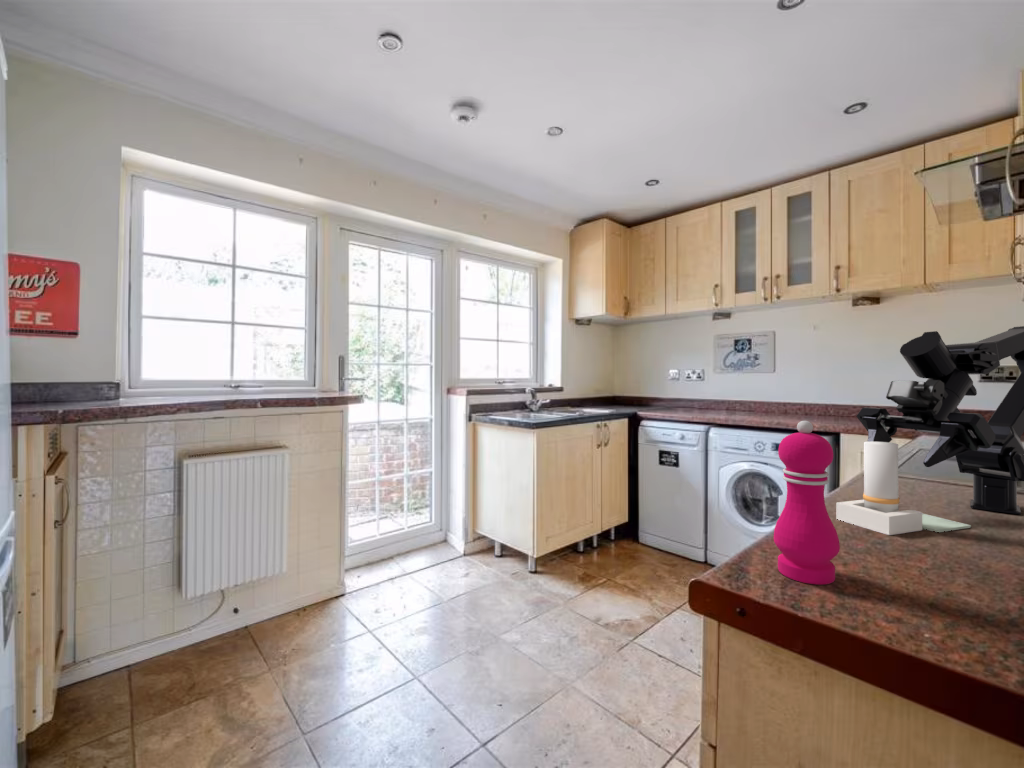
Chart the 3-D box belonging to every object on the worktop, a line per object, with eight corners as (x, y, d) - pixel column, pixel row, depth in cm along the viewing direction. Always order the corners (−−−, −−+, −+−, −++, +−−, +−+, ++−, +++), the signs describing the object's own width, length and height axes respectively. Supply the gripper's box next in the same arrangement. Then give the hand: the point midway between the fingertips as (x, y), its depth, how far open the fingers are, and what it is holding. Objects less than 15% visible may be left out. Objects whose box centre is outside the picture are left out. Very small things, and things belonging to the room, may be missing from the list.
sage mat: (916, 514, 84) (916, 512, 84) (970, 527, 77) (970, 525, 77) (885, 518, 82) (885, 516, 82) (937, 532, 74) (937, 530, 74)
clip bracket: (867, 515, 84) (867, 498, 84) (922, 530, 76) (922, 512, 76) (836, 519, 82) (836, 502, 82) (889, 535, 74) (889, 516, 73)
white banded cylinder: (865, 518, 82) (865, 440, 82) (901, 524, 79) (900, 443, 79) (860, 524, 79) (860, 443, 79) (897, 530, 76) (897, 446, 75)
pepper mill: (849, 577, 58) (849, 420, 58) (824, 592, 54) (824, 424, 54) (789, 559, 64) (788, 417, 64) (763, 571, 60) (762, 420, 60)
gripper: (863, 366, 90) (820, 424, 87) (984, 363, 72) (935, 435, 69) (892, 405, 92) (851, 463, 89) (1016, 411, 75) (970, 483, 72)
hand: (895, 460), depth 80 cm, fingers open, 9 cm apart
